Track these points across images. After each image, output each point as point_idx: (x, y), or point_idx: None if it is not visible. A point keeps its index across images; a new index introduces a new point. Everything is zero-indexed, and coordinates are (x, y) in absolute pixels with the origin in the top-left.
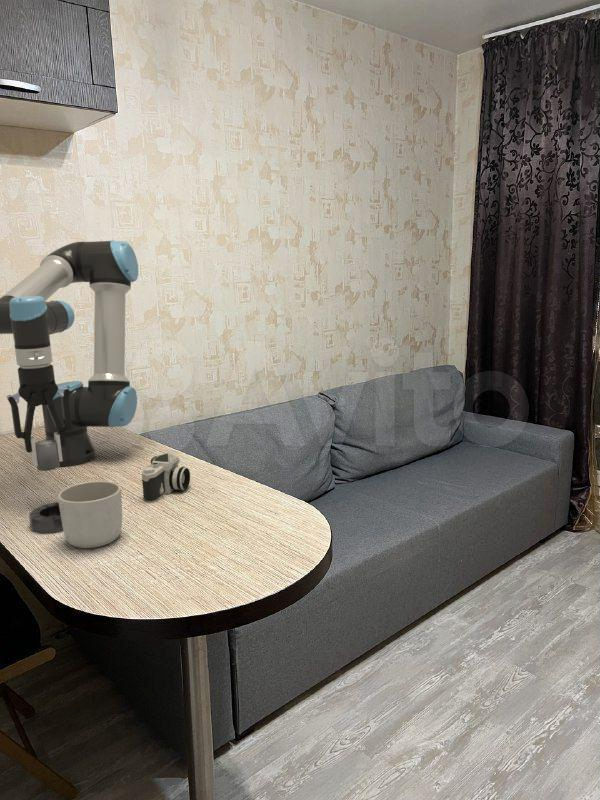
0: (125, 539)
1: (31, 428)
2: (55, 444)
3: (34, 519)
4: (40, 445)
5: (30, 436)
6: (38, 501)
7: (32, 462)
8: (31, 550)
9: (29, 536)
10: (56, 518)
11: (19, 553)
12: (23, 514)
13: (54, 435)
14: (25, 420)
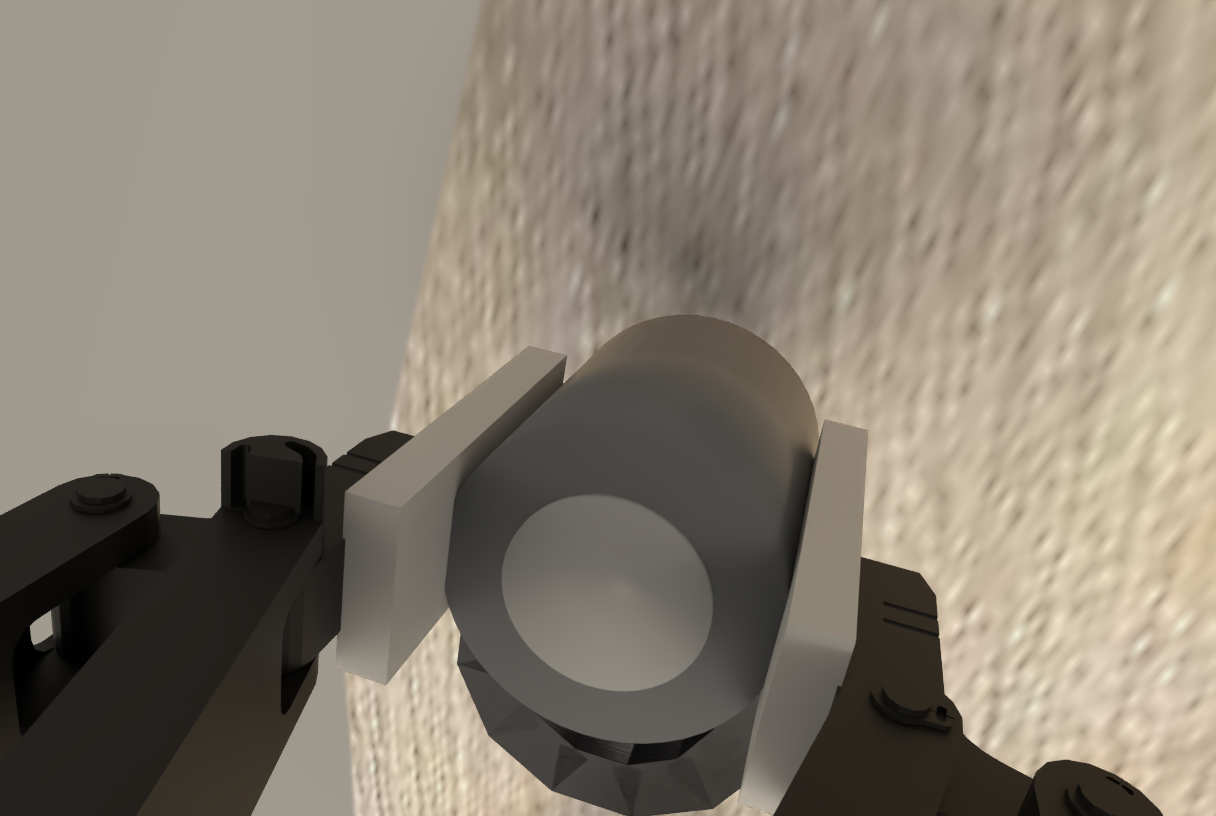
0: None
1: (244, 808)
2: (721, 713)
3: (469, 688)
4: (506, 650)
5: (304, 693)
6: (707, 115)
7: (524, 355)
8: (420, 805)
9: (457, 659)
10: (575, 784)
11: (369, 788)
12: (527, 309)
13: (782, 632)
14: (53, 723)
